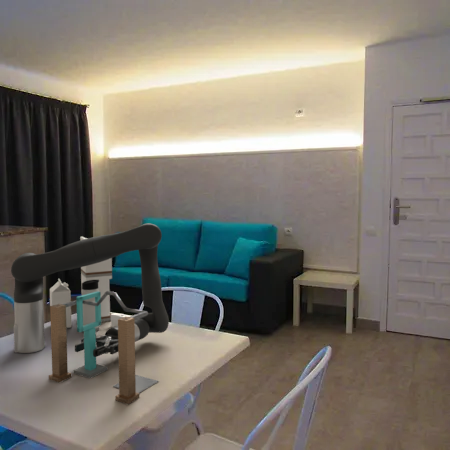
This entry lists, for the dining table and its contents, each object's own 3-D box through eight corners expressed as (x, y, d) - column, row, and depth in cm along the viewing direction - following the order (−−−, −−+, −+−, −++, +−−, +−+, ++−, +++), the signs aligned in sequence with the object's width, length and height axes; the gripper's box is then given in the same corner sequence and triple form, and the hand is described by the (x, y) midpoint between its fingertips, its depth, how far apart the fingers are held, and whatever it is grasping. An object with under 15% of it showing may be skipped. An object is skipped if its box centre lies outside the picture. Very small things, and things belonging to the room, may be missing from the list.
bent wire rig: (48, 379, 130) (46, 292, 128) (77, 366, 139) (75, 285, 137) (128, 404, 115) (126, 306, 113) (154, 388, 124) (153, 297, 122)
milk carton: (52, 330, 176) (51, 282, 174) (50, 325, 182) (49, 279, 180) (71, 327, 179) (70, 280, 177) (68, 322, 185) (67, 277, 184)
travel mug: (97, 332, 173) (96, 281, 171) (80, 332, 173) (79, 281, 171) (102, 327, 179) (101, 278, 177) (85, 327, 179) (84, 278, 177)
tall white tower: (112, 320, 189) (111, 238, 186) (86, 323, 184) (84, 239, 181) (106, 313, 199) (105, 235, 196) (82, 316, 194) (80, 236, 192)
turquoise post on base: (88, 379, 131) (86, 298, 129) (71, 374, 134) (69, 295, 132) (109, 369, 138) (107, 292, 136) (92, 364, 141) (90, 290, 139)
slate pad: (113, 386, 125) (113, 385, 125) (134, 375, 133) (134, 374, 133) (137, 394, 121) (137, 393, 121) (158, 381, 129) (158, 380, 129)
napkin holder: (144, 330, 177) (144, 316, 176) (116, 335, 171) (116, 321, 170) (130, 321, 189) (130, 307, 189) (104, 325, 183) (103, 311, 183)
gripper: (106, 321, 151) (67, 335, 137) (139, 327, 144) (101, 343, 130) (107, 343, 152) (68, 358, 137) (139, 350, 145) (102, 368, 130)
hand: (84, 351), depth 134 cm, fingers open, 7 cm apart
